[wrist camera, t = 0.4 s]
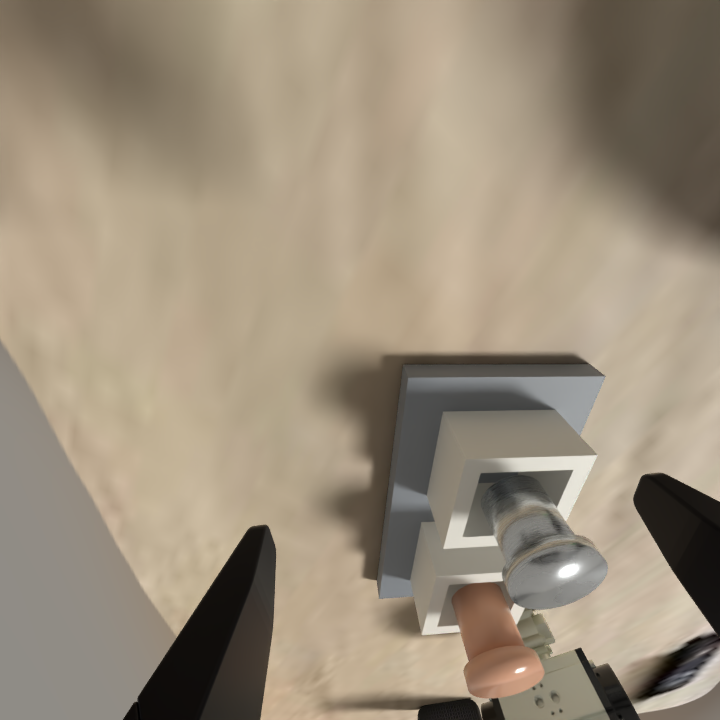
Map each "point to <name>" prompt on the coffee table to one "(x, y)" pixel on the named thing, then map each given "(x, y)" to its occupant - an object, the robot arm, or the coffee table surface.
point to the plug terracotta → (493, 644)
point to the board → (474, 471)
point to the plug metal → (539, 546)
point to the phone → (451, 711)
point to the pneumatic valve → (562, 685)
